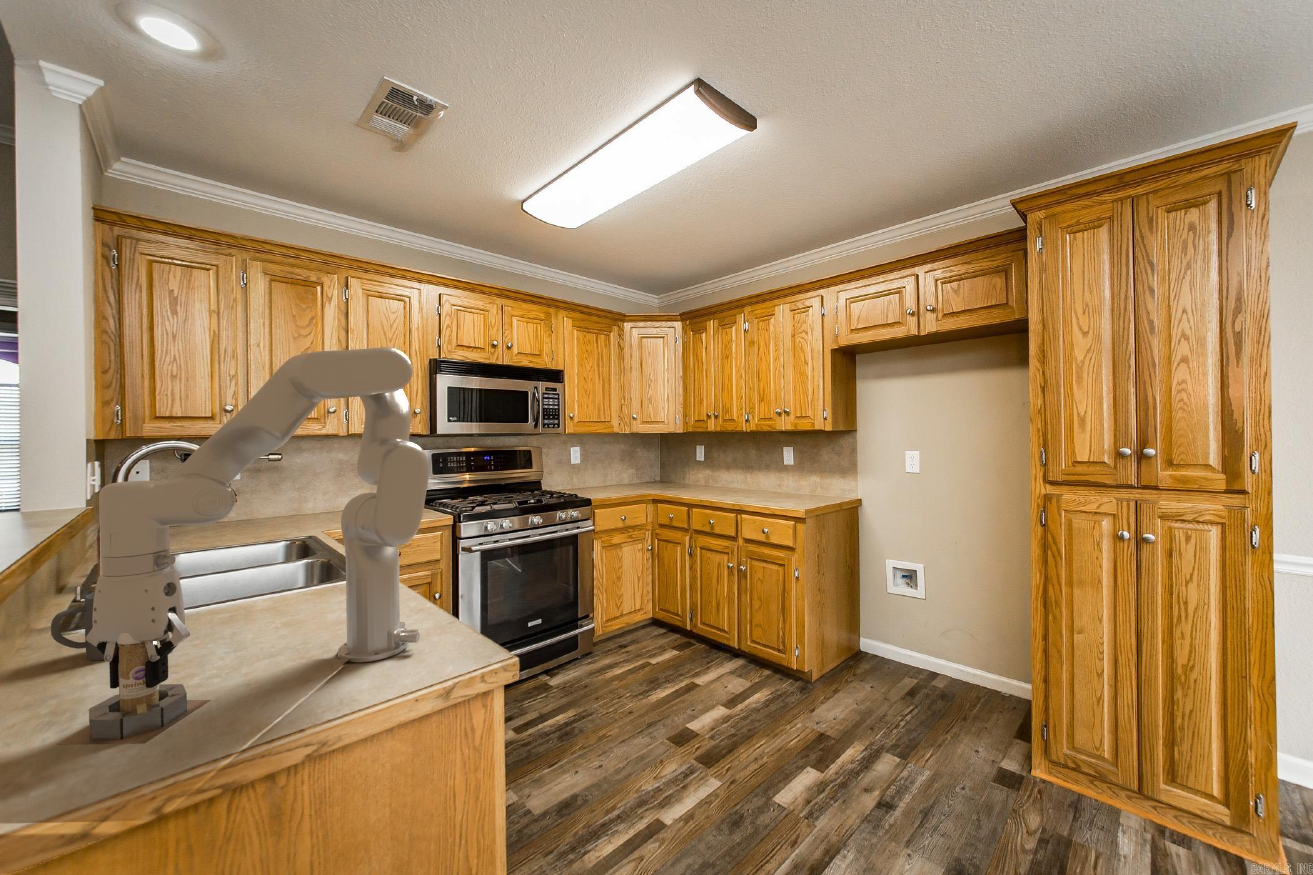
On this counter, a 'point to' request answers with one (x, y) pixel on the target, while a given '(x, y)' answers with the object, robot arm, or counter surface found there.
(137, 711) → the ring
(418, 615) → the counter surface
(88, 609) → the mug
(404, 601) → the counter surface
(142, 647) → the sprinkles bottle
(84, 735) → the walnut board
